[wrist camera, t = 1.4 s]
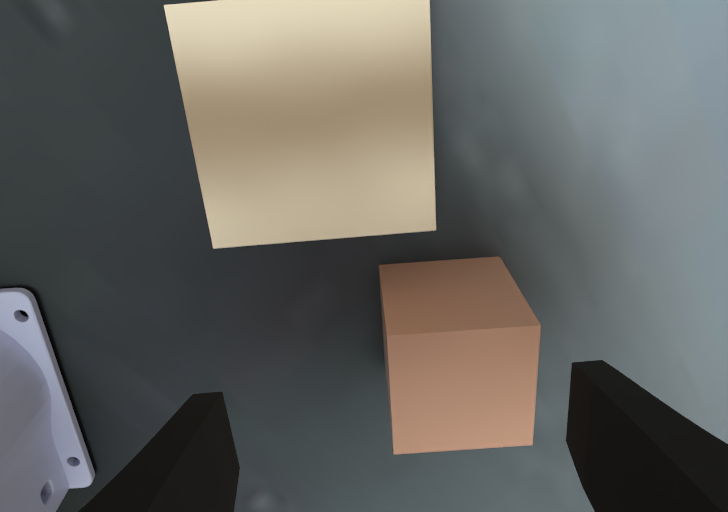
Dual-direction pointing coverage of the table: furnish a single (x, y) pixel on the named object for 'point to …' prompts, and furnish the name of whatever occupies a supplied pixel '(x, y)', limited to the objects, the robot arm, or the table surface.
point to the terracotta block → (458, 355)
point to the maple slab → (308, 116)
